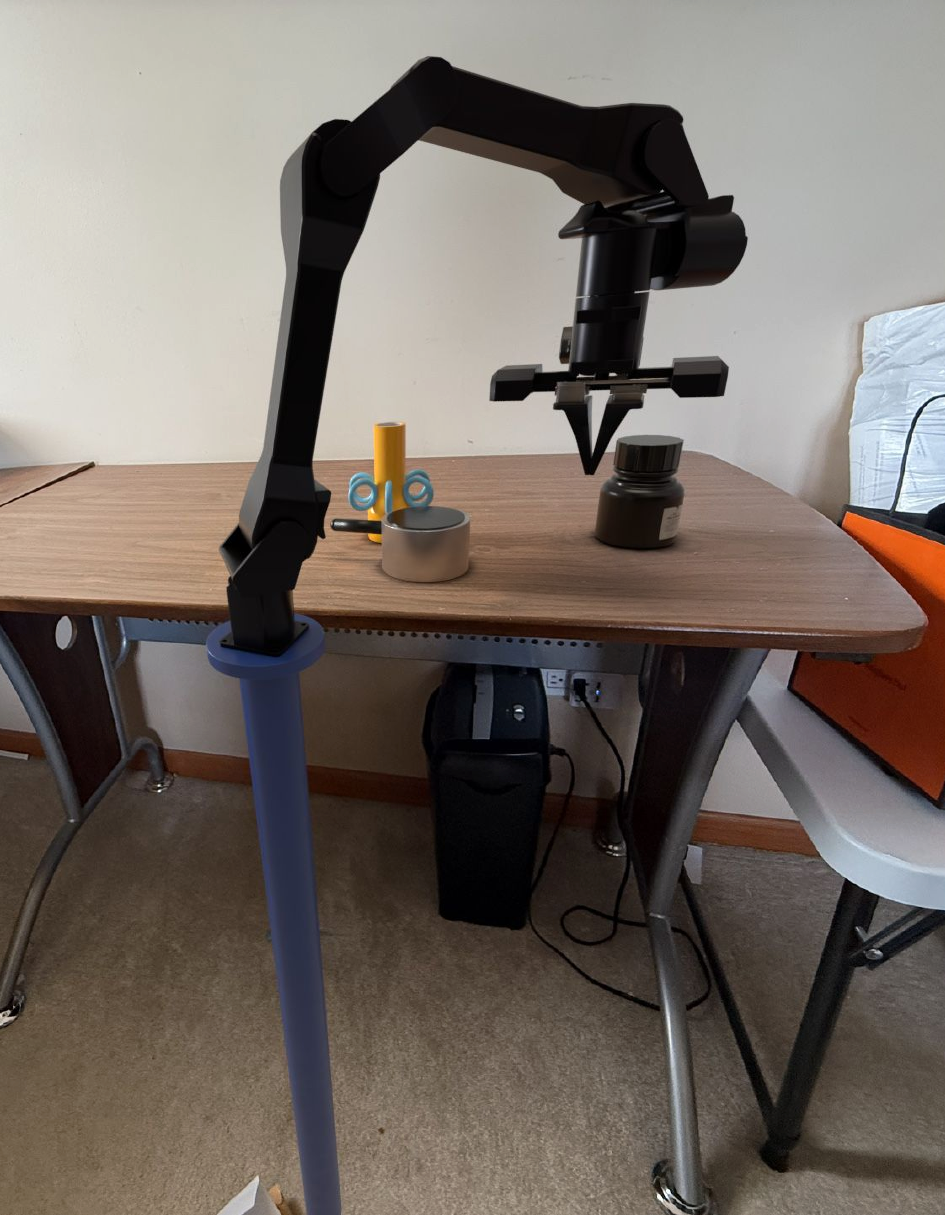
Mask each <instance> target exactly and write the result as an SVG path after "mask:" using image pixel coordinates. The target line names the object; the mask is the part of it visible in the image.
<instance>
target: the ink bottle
mask: <svg viewBox="0 0 945 1215" xmlns="http://www.w3.org/2000/svg"><path fill="white" fill-rule="evenodd" d="M615 443H616V444H615V450H614V456H613V464H612V465H613V467H612V471H613V473H614V474H612V475H611V476H610V478H608V479H606V480H605V481H604V482H602V484H601V486H600V491H599V497H598V505H597V513H596V520H595V527H594V535H595V537H596V538H598V539H599V540H600V541H601V542H603V543H606V544H609V545H611V546H616V547H622V548H630V549H631V548H632V549H656V548H662V547H667V546H669V545H671V544H673V543H674V542H675V541H676V539H677V534H678V531H679V525H680V520H681V515H682V509H683V504H684V499H685V492H686V490H685V487H684V485H683V483H681V482H680V481H678V478H677V477H676V476H675V475H676V474H678V472H679V468H680V463H681V457H682V451H683V447H684V446H683V445H684V439H683V438H680V437H679V436H673V435H662V434H634V435H626V436H621V437H618V438H617V440H616V442H615Z"/></svg>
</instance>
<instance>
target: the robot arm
mask: <svg viewBox="0 0 945 1215" xmlns="http://www.w3.org/2000/svg"><path fill="white" fill-rule="evenodd" d="M683 123H684V116H683V115H682V113H681V112H680V111H679V110H678V109H676V108H675V107H673V106H671V105H668V104H665V103H664V104H661V103H643V102H641V103H640V102H627V103H617V104H609V105H602V106H589V105H587V106H586V105H580V104H577V103H575V102H574V103H573V102H570V101H567V100H564V99H560V98H557V97H554V96H551V95H547V94H544V93H541V92H538V91H535V90H531V89H528V88H525V87H522V86H518V85H515V84H512V83H510V82H509V83H508V82H505V81H502V80H499V79H496V78H493V77H489V76H486V75H482V74H479V73H476V72H474V71H469V70H467V69H463V68H459V67H456V66H453V65H452V64H451V62H450V61H449V60H447V59H445V58H443V57H442V56H432V55H431V56H430V55H427V56H424V57H422V58H420V59H418V60H417V61H416V62H414V64H412V66H410V68H408V70H406V71H405V72H404V73H403V74H401V75H400V77H399V78H397V80H396V81H395V82H394V83H392V85H391V86H390V88H389V89H387V91H386V92H385V93H384V94H382V95H381V96H380V97H379V98H378V99H376V100H375V101H374V102H373V103H372V104H370V105H369V106H368V107H367V108H366V109H364V110H363V111H362V112H361V113H360V114H358V115H357V117H355V118H354V119H353V120H349V119H343V118H342V119H340V118H334V119H330V120H328V121H325V122H323V123H321V124H320V125H319V126H318V127H316V128H315V129H314V130H313V131H312V132H311V133H310V134H309V135H308V136H307V137H306V138H305V139H304V140H303V142H302V143H301V144H300V145H299V146H298V147H297V148H296V149H295V150H294V151H293V152H292V154H291V155H290V156H289V157H288V159H286V161H285V163H284V166H283V167H282V172H281V176H280V180H279V211H280V212H279V214H280V215H279V216H280V217H279V218H280V220H279V221H280V236H281V241H282V243H281V244H282V249H283V256H284V263H285V264H284V265H285V281H284V288H283V289H284V290H283V294H282V295H283V296H282V304H281V311H280V319H279V325H278V326H279V327H278V333H277V334H278V335H277V340H276V341H277V342H276V348H275V349H276V350H275V355H274V356H275V357H274V362H273V363H274V364H273V370H272V377H271V378H272V379H271V386H270V394H269V402H268V410H267V416H266V425H265V432H264V440H263V448H262V451H261V454H260V457H259V459H258V461H257V464H256V465H255V468H254V470H253V471H252V474H251V476H250V478H249V481H248V483H247V487H246V489H245V493H244V495H243V496H244V497H243V499H242V503H241V505H240V509H239V513H238V522H237V524H236V525H235V527H234V528H233V529H232V530H231V531H230V533H229V534H228V535H227V537H226V538H224V540H223V541H222V543H221V544H220V545H219V547H218V551H219V554H220V556H221V558H222V561H223V562H224V564H225V567H226V569H227V571H228V574H229V577H228V578H227V586H226V587H225V590H226V598H227V606H228V613H229V621H230V623H231V632H230V633H228V634H227V635H226V636H225V637H223V638H222V639H221V640H220V641H219V644H220V647H223V648H229V649H234V650H239V651H244V652H250V653H255V654H260V655H265V656H271V657H280V656H282V655H283V654H284V653H285V652H286V651H287V650H288V649H289V648H290V647H291V646H292V645H293V644H294V643H295V642H296V641H297V640H298V639H299V638H300V637H301V636H302V635H303V634H304V633H305V632H306V631H307V630H308V629H309V623H306V622H300V621H294V617H295V616H294V613H295V605H294V604H295V603H294V593H293V591H294V590H295V589H296V588H297V587H296V586H297V583H298V580H299V576H300V573H301V569H302V566H303V563H304V562H305V561H306V560H308V559H310V558H311V557H312V555H313V554H314V552H315V550H316V547H317V544H318V538H319V539H321V540H325V539H326V532H325V518H326V515H327V513H328V509H329V506H330V503H331V497H332V491H331V490H330V489H329V488H327V487H326V486H325V485H323V484H322V483H320V482H319V481H317V480H316V479H315V476H314V475H315V474H314V466H313V464H314V462H313V461H314V455H315V454H314V453H315V447H316V441H317V436H318V431H319V430H318V429H319V423H320V418H321V413H322V412H321V411H322V405H323V399H324V393H325V392H324V391H325V386H326V380H327V374H328V368H329V367H328V366H329V361H330V355H331V350H332V343H333V336H334V330H335V325H336V317H337V312H338V305H339V301H340V300H339V299H340V294H341V288H342V281H343V277H344V275H345V272H346V270H347V267H348V265H349V263H350V261H351V259H352V257H353V254H354V253H355V250H356V248H357V246H358V244H359V241H360V240H361V237H362V236H363V233H364V231H365V228H366V225H367V222H368V219H369V216H370V212H371V210H372V206H373V203H374V200H375V197H376V194H377V191H378V189H379V188H378V187H379V184H380V179H381V173H383V172H384V171H385V170H386V169H387V168H389V167H390V166H391V165H392V164H393V163H395V162H396V161H397V160H398V159H399V158H400V157H401V156H403V155H404V154H405V153H406V152H407V151H408V150H410V148H412V147H413V145H415V144H416V143H417V142H419V141H420V142H423V143H427V144H431V145H434V146H438V147H442V148H445V149H449V150H453V151H458V152H461V153H465V154H468V155H472V156H476V157H479V158H483V159H487V160H491V161H495V162H498V163H502V164H505V165H510V166H513V167H516V168H520V169H524V170H528V171H532V172H535V173H539V174H541V175H543V176H545V177H547V178H549V179H551V180H552V181H553V182H554V184H555V185H556V186H557V188H558V189H559V190H560V191H561V192H562V194H565V195H566V196H568V197H570V198H572V199H574V200H576V201H577V202H579V203H580V204H582V205H581V206H580V207H579V209H578V210H577V212H576V213H575V215H574V216H573V217H572V218H571V219H570V220H569V221H568V222H567V223H566V224H565V225H564V226H563V227H562V228H561V229H559V231H558V233H557V236H558V239H560V240H574V239H581V243H580V252H579V262H578V272H577V273H578V274H577V283H576V292H575V293H576V294H575V297H576V298H575V303H574V312H573V321H572V325H571V326H563V328H562V332H561V338H560V342H559V343H560V344H559V351H558V360H559V364H561V365H568V370H556V371H555V370H553V371H544V370H543V363H533V364H532V363H531V364H510V365H505V366H502V367H501V368H499V369H497V370H496V371H495V372H494V373H493V374H492V375H491V378H490V383H489V402H493V403H494V402H523V401H525V400H526V399H527V398H528V397H529V396H530V395H531V394H533V393H551V392H552V393H554V396H555V401H554V403H552V410H553V411H563V412H564V414H565V416H566V419H567V421H568V424H569V426H570V428H571V431H572V433H573V436H574V439H575V443H576V446H577V451H578V454H579V458H580V461H581V465H582V470H583V473H584V475H585V476H595V474H596V472H597V470H598V468H599V466H600V464H601V462H602V459H603V457H604V456H605V453H606V451H607V449H608V447H609V445H610V443H611V441H612V439H613V436H614V435H615V433H616V432H617V430H618V429H619V427H620V426H621V424H622V423H623V421H624V419H625V418H626V417H627V415H628V413H629V412H630V411H631V410H641V409H643V408H644V403H645V394H647V393H648V392H647V391H648V390H664V389H665V390H666V389H667V390H668V389H671V391H673V393H674V394H675V395H677V397H678V398H679V399H684V398H685V399H689V398H690V399H691V398H720V397H724V396H725V393H726V389H727V384H728V379H729V369H730V366H729V365H728V364H727V363H726V362H725V361H724V360H723V359H722V358H721V357H720V356H719V355H710V356H708V355H707V356H688V357H687V356H686V357H673V358H672V363H671V366H657V367H656V366H655V367H654V366H653V367H640V366H641V361H642V360H641V359H642V354H643V346H644V339H645V338H644V335H645V334H644V333H645V327H646V320H647V319H646V318H647V313H648V306H649V299H650V293H651V290H653V291H664V290H665V291H666V290H667V291H668V290H678V289H688V288H689V289H691V288H700V287H701V288H702V287H712V286H716V285H718V284H722V283H723V282H724V281H726V280H728V278H730V276H731V275H733V274H734V273H735V271H736V270H737V268H738V267H739V266H740V264H741V262H742V260H743V258H744V256H745V253H746V250H747V247H748V240H749V237H748V235H746V234H747V233H746V232H747V231H746V226H745V224H744V220H743V219H742V218H741V216H740V215H739V214H737V213H736V212H734V211H733V206H734V201H735V196H734V195H733V194H726V195H724V194H723V195H719V196H714V197H711V198H709V197H710V196H709V195H710V194H709V193H708V190H707V187H706V185H705V182H704V179H703V177H702V174H701V171H700V169H699V166H698V164H697V161H696V159H695V156H694V153H693V150H692V148H691V145H690V143H689V140H688V137H687V135H686V132H685V128H684V125H683ZM611 374H615V375H611ZM592 391H593V392H595V391H609V396H608V399H607V401H606V403H605V406H604V409H603V410H604V411H603V414H602V418H601V421H600V425H599V429H598V434H597V436H596V441H595V444H594V448H593V417H592V416H593V395H590V394H591V392H592Z"/></svg>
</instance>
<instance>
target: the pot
mask: <svg viewBox="0 0 945 1215" xmlns="http://www.w3.org/2000/svg"><path fill="white" fill-rule="evenodd" d="M329 527H330V529H331V530H332V531H333V532H340V533H353V534H354V533H355V534H367V535H368V534H382V543H381V569H382V571H383V572H384V573H385V574H386V575H388V576H389V577H391V578H394V579H397V580H400V581H404V582H405V581H406V582H413V583H438V582H445V581H450V580H453V579H456V578H459V577H461V576H462V575H465V573H467V571H468V569H469V560H470V559H469V558H470V536H471V516H470V515H469V514H468V513H467V512H466V511H463V510H461V509H458V508H453V507H448V506H440V505H439V506H438V505H428V506H417V507H408V508H402V509H398V510H394V511H391V512H389V513H387V514H385V515H384V516H383V517H382V521H375V520H368V519H354V518H338V517H336V518H335V517H334V518H333V519H332V520H331V521H330V523H329Z"/></svg>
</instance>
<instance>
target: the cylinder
mask: <svg viewBox="0 0 945 1215" xmlns="http://www.w3.org/2000/svg"><path fill="white" fill-rule="evenodd" d="M406 427H407V426H406V422H404V421H386V422H385V421H384V422H383V421H382V422H378V423H374V424H373V466H374V467H373V468H374V471H373V472H374V473H373V474H374V475H373V476H374V477H373V476H372V475H371V474H370V473H368V472H364V471H363V472H357V473H355V474H354V475H352V477H351V478H350V480H349V484H348V486H349V487H348V488H349V490H348V494H347V499H348V503H349V505H350V507H351V508H352V509H353V510H355V511H356V512H366V511H367V520H375V521H382V517H383V516H384V515H385V514H387V513H389V512H391V511H394V510H398V509H402V508H408V507H417V506H430V505H431V503H432V502H433V500H434V497H435V495H434V494H435V492H434V487H433V485H432V483H431V479H430V476H429V473H427V472H426V471H425V470H423V469H419V468H417V469H413V470H411V471H409V472H408V473H407V474H406V469H407V468H406V465H407V463H406V462H407V461H406V460H407V459H406V458H407V454H406V450H407V449H406V446H407V444H406V441H407V439H406V437H407V433H406V432H407V430H406V429H407V428H406ZM416 483H417V484H421V485H423V488H422V490H421V491H420V492H419V493H417V494H416V495H414V494H411V493H410V487H411V485H413V484H416ZM361 486H368V487H369V488H370V490H371V491H370V494H369V495H368V496H367V497H362V496H361V495H359V494H358V493H357V491H358V490H357V489H358V488H360V487H361ZM425 496H426V498H425ZM423 498H425V500H423V501H422V502H418V501H420V500H422V499H423ZM357 502H358V503H359V504H358V503H357ZM361 504H362V505H361ZM367 536H368V539H369V540H370V541H372V542H375V543H377V544H378V543H379V544H382V534H368V533H367Z"/></svg>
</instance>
